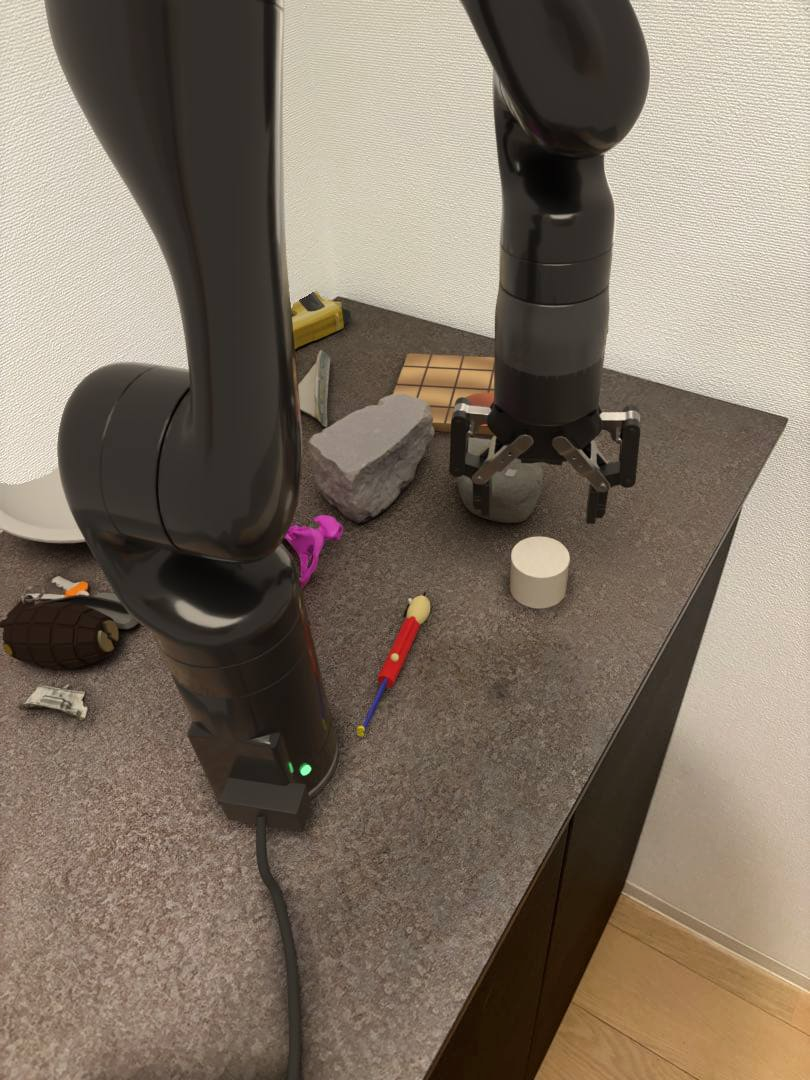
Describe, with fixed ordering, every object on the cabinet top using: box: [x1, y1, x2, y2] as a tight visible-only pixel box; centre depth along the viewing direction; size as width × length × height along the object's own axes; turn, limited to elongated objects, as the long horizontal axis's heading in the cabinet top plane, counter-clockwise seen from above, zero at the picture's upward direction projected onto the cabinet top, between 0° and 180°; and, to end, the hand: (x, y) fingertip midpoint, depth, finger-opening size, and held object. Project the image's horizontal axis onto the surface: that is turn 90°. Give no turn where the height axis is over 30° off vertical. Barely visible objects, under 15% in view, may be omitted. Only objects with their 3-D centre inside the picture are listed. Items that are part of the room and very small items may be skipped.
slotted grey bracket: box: [16, 683, 88, 721], centre depth 64 cm, size 6×2×3 cm
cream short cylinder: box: [509, 535, 571, 610], centre depth 69 cm, size 5×5×4 cm
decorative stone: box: [307, 393, 436, 524], centre depth 81 cm, size 15×7×10 cm
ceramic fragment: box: [298, 349, 331, 428], centre depth 94 cm, size 14×5×4 cm, turn 1°
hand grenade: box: [0, 583, 129, 670], centre depth 67 cm, size 5×7×11 cm
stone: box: [455, 436, 544, 524], centre depth 78 cm, size 9×9×10 cm
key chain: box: [21, 575, 140, 630], centre depth 72 cm, size 13×4×2 cm, turn 65°
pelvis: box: [284, 514, 344, 590], centre depth 71 cm, size 12×10×7 cm
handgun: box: [291, 290, 352, 350], centre depth 105 cm, size 2×19×12 cm
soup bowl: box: [0, 466, 86, 544], centre depth 82 cm, size 24×24×7 cm
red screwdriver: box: [356, 591, 431, 738], centre depth 65 cm, size 3×2×15 cm
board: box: [392, 352, 494, 436], centre depth 93 cm, size 14×14×1 cm
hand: (538, 513), depth 66 cm, fingers open, 8 cm apart
